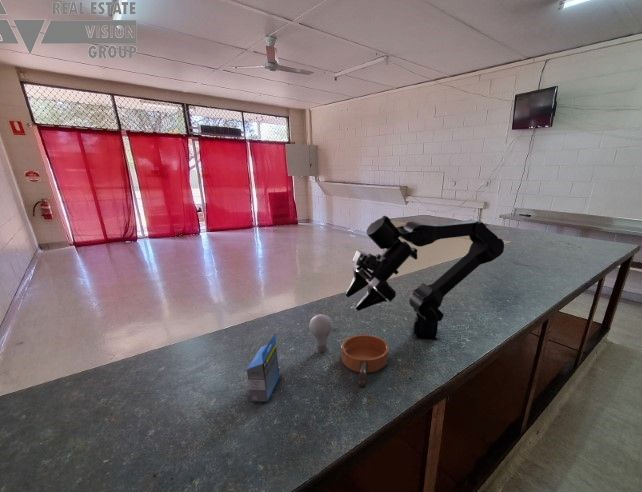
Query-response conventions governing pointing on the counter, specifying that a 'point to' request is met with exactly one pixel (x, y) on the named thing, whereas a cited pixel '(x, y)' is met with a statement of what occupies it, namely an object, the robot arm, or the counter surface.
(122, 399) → the counter surface
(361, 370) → the handle
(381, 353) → the orange round dish
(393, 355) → the counter surface
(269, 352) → the blue cardboard box
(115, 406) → the counter surface
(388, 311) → the counter surface
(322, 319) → the lightbulb
